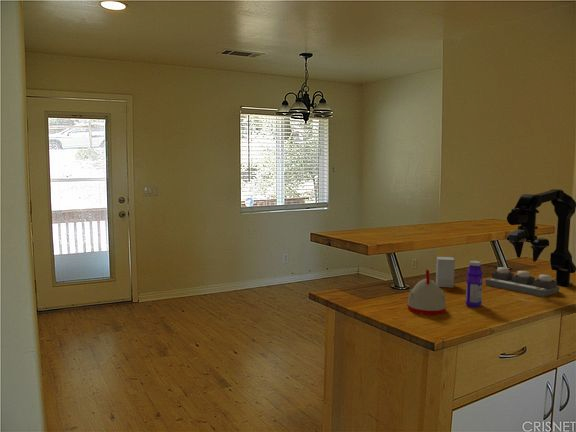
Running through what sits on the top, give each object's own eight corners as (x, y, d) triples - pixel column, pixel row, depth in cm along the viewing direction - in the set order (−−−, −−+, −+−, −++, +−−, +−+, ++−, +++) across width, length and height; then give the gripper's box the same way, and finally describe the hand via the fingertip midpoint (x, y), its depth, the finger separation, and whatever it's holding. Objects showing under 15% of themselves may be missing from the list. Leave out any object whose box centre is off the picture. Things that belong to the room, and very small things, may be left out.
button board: (501, 280, 233) (501, 270, 232) (558, 291, 212) (559, 280, 212) (485, 284, 224) (485, 274, 223) (543, 297, 204) (544, 285, 203)
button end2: (542, 279, 215) (542, 273, 214) (553, 281, 211) (554, 275, 210) (536, 281, 211) (536, 275, 211) (548, 283, 208) (548, 277, 207)
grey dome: (444, 305, 191) (445, 268, 189) (447, 316, 178) (448, 275, 176) (407, 303, 194) (408, 266, 192) (407, 313, 181) (409, 273, 179)
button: (500, 272, 229) (500, 266, 229) (510, 273, 226) (511, 268, 225) (494, 273, 226) (495, 268, 226) (505, 275, 222) (505, 269, 222)
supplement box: (454, 287, 219) (455, 259, 217) (436, 286, 220) (437, 259, 219) (452, 283, 226) (453, 256, 225) (435, 283, 227) (436, 256, 226)
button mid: (520, 275, 222) (520, 270, 222) (531, 277, 218) (531, 272, 218) (515, 277, 219) (515, 271, 219) (526, 279, 215) (526, 273, 215)
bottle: (479, 308, 187) (481, 263, 185) (463, 306, 190) (465, 262, 188) (482, 304, 193) (484, 260, 191) (467, 302, 196) (469, 259, 194)
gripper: (497, 222, 217) (495, 256, 218) (529, 227, 199) (527, 265, 200) (518, 221, 220) (516, 255, 221) (551, 226, 202) (549, 263, 203)
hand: (526, 259), depth 212 cm, fingers open, 9 cm apart
